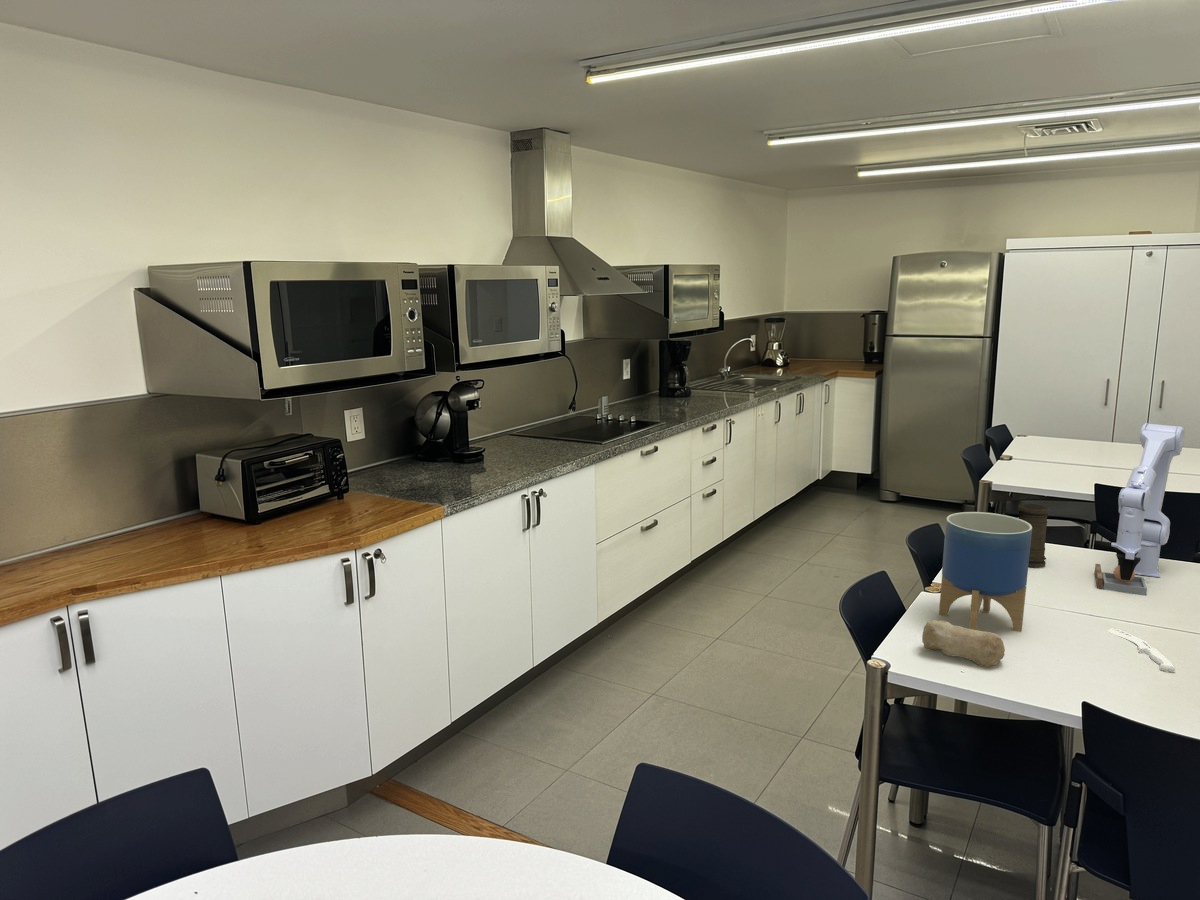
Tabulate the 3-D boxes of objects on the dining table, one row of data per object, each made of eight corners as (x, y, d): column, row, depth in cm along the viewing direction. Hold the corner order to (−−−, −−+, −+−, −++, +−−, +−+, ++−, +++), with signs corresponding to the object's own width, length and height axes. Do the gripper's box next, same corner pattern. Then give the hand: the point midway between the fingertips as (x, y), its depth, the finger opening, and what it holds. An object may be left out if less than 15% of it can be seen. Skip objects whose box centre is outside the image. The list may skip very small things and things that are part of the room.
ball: (1112, 577, 234) (1114, 560, 233) (1133, 580, 231) (1135, 563, 230) (1113, 582, 229) (1115, 565, 228) (1134, 585, 227) (1136, 568, 226)
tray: (1101, 578, 237) (1102, 571, 237) (1142, 584, 233) (1143, 577, 232) (1103, 589, 229) (1104, 582, 228) (1146, 595, 224) (1147, 588, 224)
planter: (948, 602, 220) (956, 507, 215) (1027, 618, 209) (1037, 519, 204) (930, 626, 204) (937, 525, 199) (1014, 645, 193) (1025, 538, 188)
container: (1050, 568, 246) (1057, 510, 242) (1020, 568, 246) (1026, 510, 243) (1035, 558, 255) (1041, 502, 251) (1006, 558, 255) (1011, 502, 251)
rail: (1094, 573, 241) (1095, 563, 241) (1099, 573, 241) (1100, 564, 240) (1096, 588, 229) (1098, 578, 229) (1101, 589, 229) (1103, 579, 228)
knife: (1089, 616, 209) (1123, 617, 207) (1089, 622, 209) (1122, 624, 208) (1137, 664, 180) (1177, 666, 179) (1137, 671, 181) (1176, 673, 179)
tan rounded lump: (929, 627, 197) (924, 606, 190) (1008, 642, 187) (1006, 621, 180) (922, 659, 193) (916, 640, 186) (1002, 676, 183) (999, 657, 176)
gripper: (1111, 521, 235) (1106, 566, 238) (1115, 535, 223) (1109, 582, 226) (1140, 525, 232) (1134, 570, 235) (1146, 538, 220) (1139, 586, 222)
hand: (1124, 576), depth 230 cm, fingers closed on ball, 5 cm apart
